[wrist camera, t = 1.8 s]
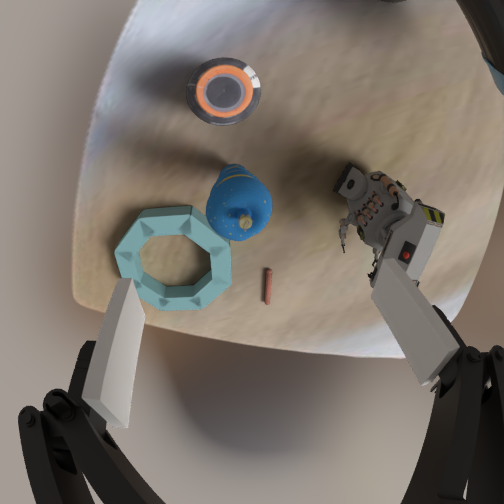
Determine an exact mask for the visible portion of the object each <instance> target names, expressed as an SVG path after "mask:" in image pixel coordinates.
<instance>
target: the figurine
mask: <svg viewBox="0 0 504 504" xmlns="http://www.w3.org/2000/svg"><path fill="white" fill-rule="evenodd" d="M406 190H407V189H406V188H405V187H404V186H403V185H402V184H401V183H400V182H399V181H398V180H397V181H396V182H395V181H394V180H392V179H391V178H389V177H388V176H387V175H386V174H384V173H382V172H381V171H377V172H372V173H369V174H365V175H363V174H362V173H361V172H360V171H359V169H358V168H357V167H356V166H355V165H353V164H352V163H350V162H349V164H348V165H347V166H346V169H345V171H343V173H342V176H341V178H340V179H339V180H338V182H337V185H335V187H334V190H333V191H334V192H336V193H338V194H340V195H342V196H344V197H346V198H347V203H348V210H349V214H348V216H347V218H346V219H341V220H340V221H339V222H340V224H341V225H340V229H339V236H340V239H341V243H342V244H341V245H342V247H343V251H344V246H345V244H344V238H345V239H346V233H345V232H346V230H347V229H348V226H347V225H349V224H352V225H354V226H356V227H357V233H358V235H359V236H360V239H361V240H363V241H364V242H365V244H367V245H369V246H371V247H373V253H374V254H375V257H374V258H375V260H374V262H373V264H372V266H373V267H374V264H375V262H376V263H377V264H376V266H375V267H374V271H373V273H372V272H371V273H370V274H368V277H369V278H370V285H371V287H372V288H374V286H375V283H376V280H377V277H378V274H379V271H380V268H381V265H382V262H383V259H391V258H394V259H395V260H396V261H397V263H398V264H399V265H400V266H401V267H402V269H403V270H404V271H405V272H406V273H407V275H408V276H409V277H410V278H411V280H412V281H413V282H414V283H415V285H416V286H417V287H418V285H419V283H420V282H419V281H418V280H419V278H420V276H421V274H422V272H423V270H424V268H425V266H426V264H427V262H428V259H429V257H430V255H431V253H432V251H433V248H434V246H435V244H436V241H437V239H438V236H439V234H440V231H441V229H442V226H443V223H444V216H445V213H443V212H442V211H440V210H438V209H436V208H434V207H430V206H427V205H424V204H423V203H422V202H421V200H420V199H416V200H415V201H413V200H412V199H411V198H410V196H409V195H408V194H407V193H406V192H405V191H406ZM381 251H382V252H381ZM380 252H381V254H380V256H379V259H378V254H379V253H380ZM343 253H345V251H344V252H343ZM371 274H372V275H371Z"/></svg>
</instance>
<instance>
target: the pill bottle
mask: <svg viewBox="0 0 504 504" xmlns="http://www.w3.org/2000/svg"><path fill="white" fill-rule="evenodd" d="M260 95H261V87H260V82H259V79H258V77H257V75H256V74H255V72H254V71H253V70H252V69H251V68H250V67H249V66H248V65H247V64H246V63H244V62H242V61H240V60H237V59H233V58H216V59H212V60H210V61H207V62H205V63H204V64H202V65H201V66H199V67H198V68H197V69H196V70H195V71H194V73H193V74H192V75H191V77H190V79H189V81H188V85H187V90H186V96H187V101H188V104H189V106H190V108H191V110H192V111H193V113H194V114H195V115H196V116H197V117H199V118H200V119H201V120H203V121H205V122H207V123H210V124H213V125H219V126H226V125H232V124H236V123H238V122H240V121H242V120H244V119H246V118H247V117H248V116H249V115H250V114H251V113H252V112H253V111H254V110H255V108H256V107H257V105H258V102H259V99H260Z"/></svg>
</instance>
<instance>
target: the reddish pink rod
mask: <svg viewBox="0 0 504 504" xmlns="http://www.w3.org/2000/svg"><path fill="white" fill-rule="evenodd" d="M271 281H272V270H271V269H268V270H267V272H266V289H265V304H266V305H268V304H269V303H270V294H271Z"/></svg>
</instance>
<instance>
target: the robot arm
mask: <svg viewBox="0 0 504 504" xmlns="http://www.w3.org/2000/svg"><path fill="white" fill-rule="evenodd" d="M381 1H386V2H402V1H406V0H381ZM456 1H457V3H458V5H459V6H460V8H461V10H462V12H463V13H464V15H465V17H466V19H467V21H468V23H469V25H470V27H471V29H472V31H473V33H474V35H475V37H476V39H477V41H478V43H479V46H480V48H481V50H482V52H481V54H482V57H483V59H484V61H485V62H486V63H487V65H488V67H489V69H490V72H491V74H492V77H493V79H494V82H495V84H496V86H497V88H498V89H499V91H500V92H501V93H502V94H503V95H504V0H456ZM371 298H372V299H373V301H374V303H375V304H376V306H377V308H378V309H379V311H380V313H381V314H382V316H383V318H384V319H385V321H386V323H387V324H388V326H389V328H390V330H391V331H392V333H393V335H394V337H395V338H396V340H397V342H398V344H399V345H400V347H401V349H402V351H403V353H404V355H405V356H406V358H407V360H408V362H409V364H410V366H411V367H412V370H413V371H414V373H415V375H416V377H417V379H418V381H419V383H420V385H421V386H423V385H425V384H428V383H430V382H432V381H433V380H434V379H435V378H436V376H437V375H439V377H440V380H439V381H438V382H437V383H436V384H435V385H434V386H433V387H432V388H431V392H432V391H433V390H434V389H435V388H436V387H437V389H436V391H435V393H436V394H435V399H434V404H433V409H432V413H431V417H430V422H429V426H428V429H427V433H426V437H425V440H424V443H423V447H422V450H421V453H420V456H419V459H418V462H417V465H416V468H415V471H414V473H413V476H412V479H411V481H410V484H409V486H408V489H407V491H406V493H405V496H404V498H403V500H402V502H401V504H504V348H502V347H501V346H498V345H496V346H493V347H492V349H491V350H490V351H489V352H482V353H480V352H479V351H478V350H477V349H476V348H474V347H471V346H468V347H467V346H466V345H465V343H464V342H463V340H462V339H461V338H460V336H459V335H458V333H457V331H456V330H455V329H454V327H453V326H451V323H450V322H449V320H447V317H446V316H445V315H444V313H443V312H442V311H441V310H440V309H439V308H438V307H436V306H435V305H432V306H431V304H430V303H429V302H428V300H427V299H426V298H425V296H424V295H423V294H422V292H421V291H420V290H419V289H418V287H417V286H416V285H415V283H414V282H413V281H412V280H411V278H410V277H409V276H408V275H407V273H406V272H405V271H404V270H403V269H402V267H401V266H400V265H399V264H398V263H397V261H396V260H395V259H394V258H391V259H383V262H382V265H381V268H380V271H379V274H378V277H377V280H376V283H375V286H374V289H373V292H372V295H371ZM144 322H145V314H144V311H143V309H142V306H141V303H140V300H139V297H138V294H137V291H136V288H135V285H134V282H133V279H132V278H120V279H118V281H117V284H116V286H115V289H114V291H113V294H112V297H111V300H110V302H109V305H108V308H107V311H106V314H105V317H104V319H103V322H102V325H101V329H100V332H99V335H98V338H97V341H86V343H85V344H84V345H83V346H82V348H81V349H80V352H79V355H78V358H77V362H76V365H75V369H74V372H73V375H72V379H71V382H70V386H69V390H68V393H67V392H66V391H64V390H62V389H54V390H51V391H50V392H49V393H47V394H46V396H45V398H44V402H43V409H44V411H39V410H37V409H36V408H35V407H33V406H26V407H24V408H23V409H22V410H21V411H20V413H19V416H18V425H19V432H20V439H21V445H22V451H23V456H24V461H25V465H26V469H27V473H28V477H29V481H30V485H31V488H32V492H33V495H34V498H35V501H36V504H95V503H94V501H93V499H92V496H91V494H90V491H89V489H88V486H87V484H86V481H85V478H84V476H83V474H84V475H85V477H86V478H87V480H88V482H89V483H90V485H91V486H92V488H93V489H94V491H95V492H96V494H97V495H98V496H99V498H100V499H101V501H102V502H103V503H104V504H165V503H164V502H163V501H162V499H161V498H160V497H159V496H158V495H157V494H156V493H155V492H154V491H153V490H152V488H151V487H150V486H149V485H148V484H147V483H146V482H145V480H144V479H143V478H142V477H141V476H140V474H139V473H138V472H137V471H136V470H135V468H134V467H133V466H132V464H131V463H130V462H129V461H128V459H127V458H126V456H125V455H124V454H123V453H122V451H121V450H120V448H119V447H118V445H117V444H116V443H115V441H114V440H113V438H112V437H111V435H110V434H109V432H108V431H107V430H106V423H109V424H110V425H111V426H112V427H118V428H126V429H128V426H129V416H130V407H131V399H132V391H133V384H134V377H135V371H136V365H137V359H138V353H139V347H140V341H141V337H142V331H143V327H144ZM490 381H491V385H492V386H491V387H490V388H489V389H488V387H487V384H488V383H489V382H490ZM82 472H83V473H82ZM467 480H468V485H467V494H466V500H465V499H464V498H463V494H464V490H465V487H466V483H467Z"/></svg>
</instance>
